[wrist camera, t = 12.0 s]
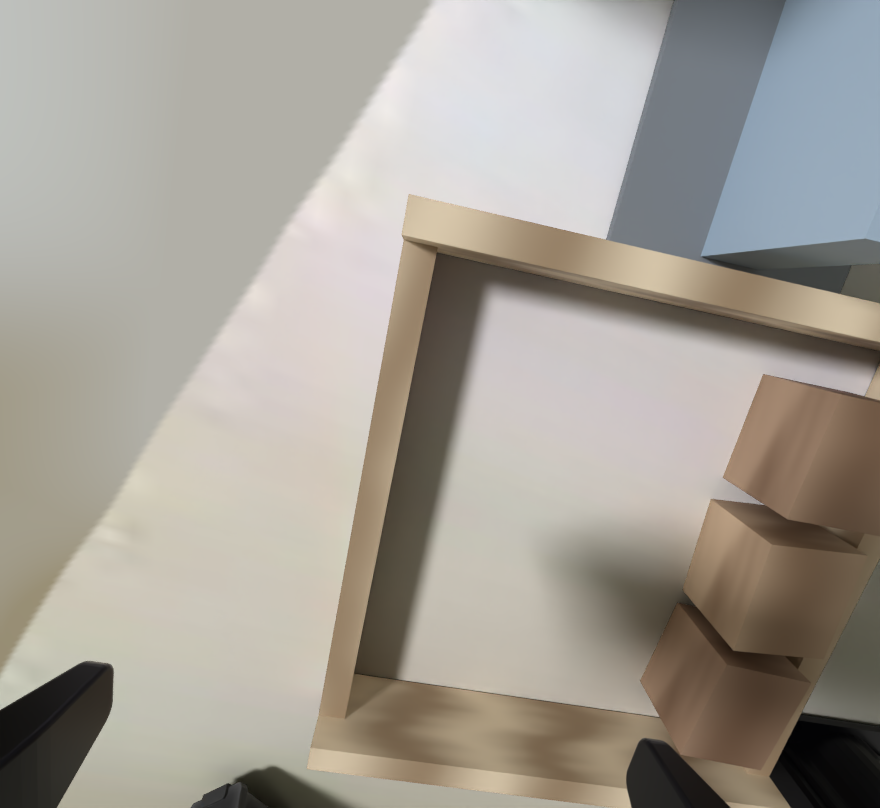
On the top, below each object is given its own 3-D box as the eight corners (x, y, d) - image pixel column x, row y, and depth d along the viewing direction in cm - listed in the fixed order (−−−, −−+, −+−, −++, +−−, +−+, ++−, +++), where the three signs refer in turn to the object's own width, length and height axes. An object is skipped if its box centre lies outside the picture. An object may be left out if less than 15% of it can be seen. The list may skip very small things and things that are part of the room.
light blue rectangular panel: (889, -90, 15) (1254, -386, 9) (758, 269, 18) (954, 259, 11) (822, -111, 15) (1142, -430, 8) (700, 256, 18) (865, 238, 11)
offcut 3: (747, 617, 23) (811, 683, 19) (707, 693, 24) (760, 770, 20) (676, 600, 23) (727, 665, 19) (639, 679, 24) (680, 754, 20)
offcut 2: (789, 507, 22) (867, 555, 18) (756, 596, 23) (823, 659, 19) (709, 498, 21) (772, 544, 18) (681, 588, 23) (733, 650, 19)
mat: (979, -69, 16) (993, -77, 16) (828, 301, 19) (836, 301, 19) (716, -150, 15) (724, -162, 15) (603, 249, 18) (607, 248, 18)
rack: (922, 330, 20) (1044, 341, 16) (727, 745, 25) (782, 829, 21) (412, 214, 18) (409, 194, 14) (326, 689, 23) (306, 769, 19)
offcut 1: (843, 391, 20) (942, 415, 16) (799, 491, 21) (881, 536, 18) (761, 373, 20) (842, 394, 16) (721, 476, 21) (787, 519, 17)
